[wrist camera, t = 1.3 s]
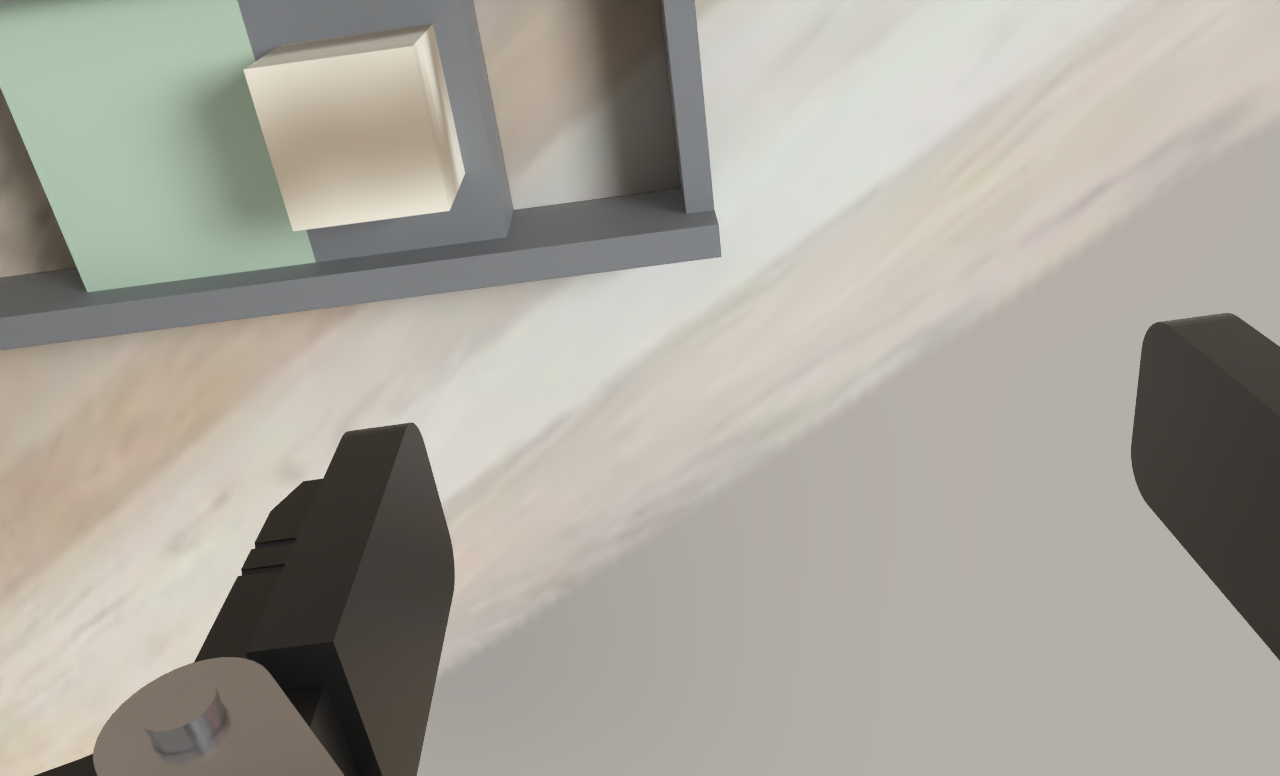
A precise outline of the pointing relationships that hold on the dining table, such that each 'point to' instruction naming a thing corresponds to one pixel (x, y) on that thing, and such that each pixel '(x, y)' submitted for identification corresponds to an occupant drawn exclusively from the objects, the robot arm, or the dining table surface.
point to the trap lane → (246, 181)
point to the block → (358, 127)
